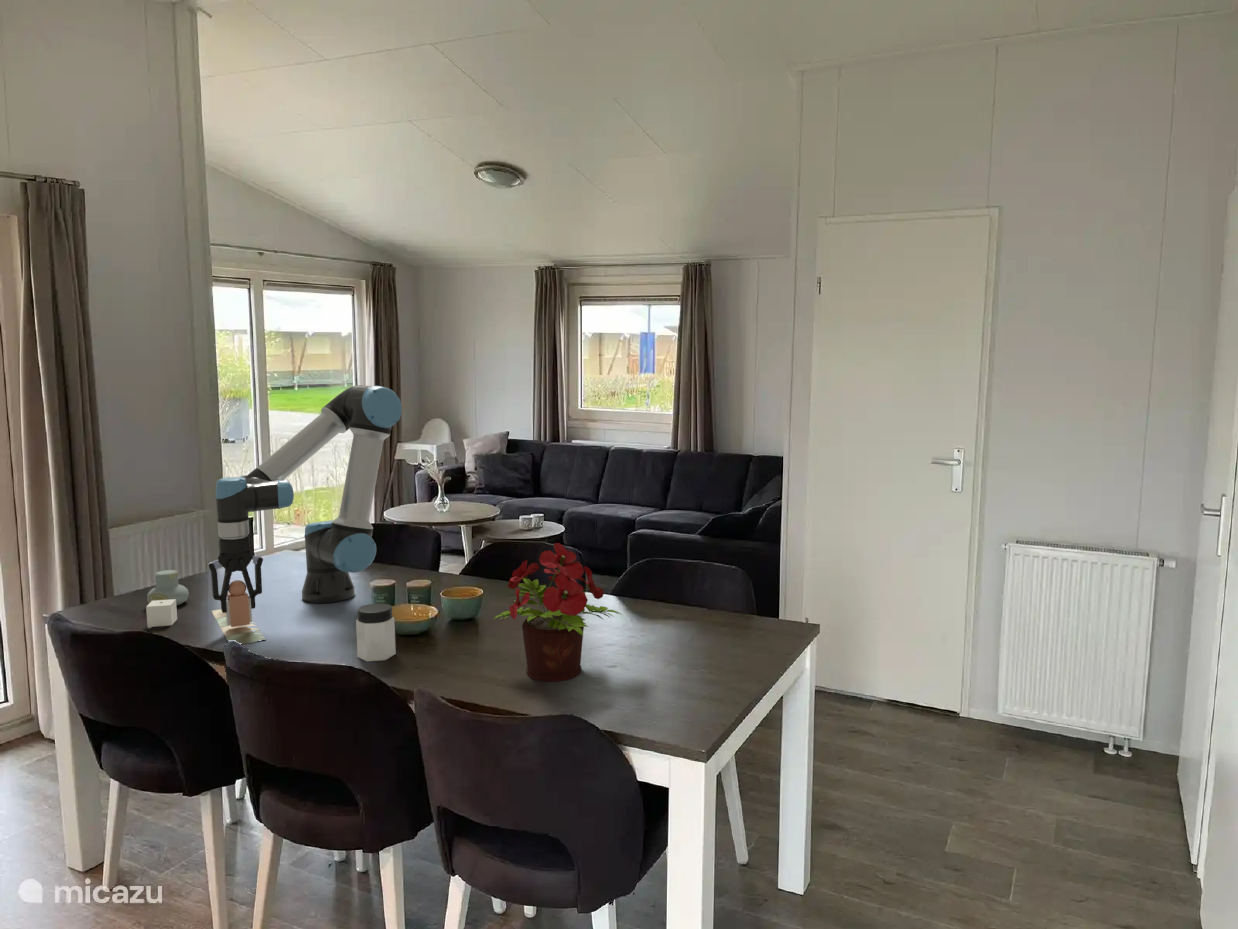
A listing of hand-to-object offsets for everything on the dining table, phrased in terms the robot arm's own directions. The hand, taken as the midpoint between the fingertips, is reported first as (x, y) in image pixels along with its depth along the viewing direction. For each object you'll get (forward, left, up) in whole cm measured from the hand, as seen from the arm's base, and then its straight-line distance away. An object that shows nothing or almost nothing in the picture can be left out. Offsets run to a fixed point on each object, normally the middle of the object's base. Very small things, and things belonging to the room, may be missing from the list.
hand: (239, 622), depth 237 cm
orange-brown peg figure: (0, 0, 0) cm, 0 cm away
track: (0, -5, -2) cm, 5 cm away
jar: (-25, +40, -2) cm, 47 cm away
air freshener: (+14, -36, -2) cm, 39 cm away
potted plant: (-59, +72, -2) cm, 93 cm away
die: (+17, -17, -2) cm, 24 cm away
